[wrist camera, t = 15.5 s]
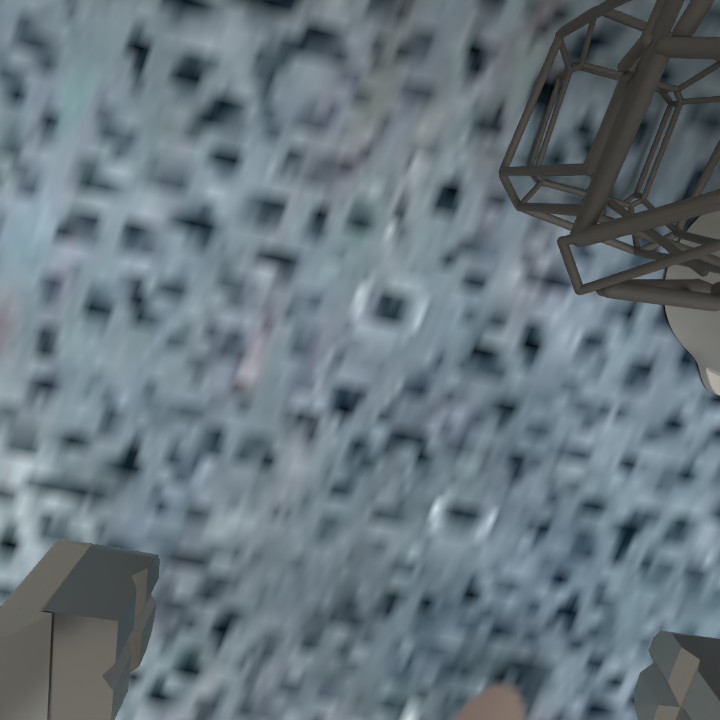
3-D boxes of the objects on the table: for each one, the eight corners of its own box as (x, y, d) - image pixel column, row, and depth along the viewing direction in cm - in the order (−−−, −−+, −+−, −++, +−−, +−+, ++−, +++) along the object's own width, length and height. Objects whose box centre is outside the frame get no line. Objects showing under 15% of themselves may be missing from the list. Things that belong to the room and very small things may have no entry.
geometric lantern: (749, 64, 42) (2027, -309, 9) (645, 276, 47) (1218, 543, 14) (537, -12, 42) (1057, -709, 8) (455, 210, 47) (577, 322, 13)
